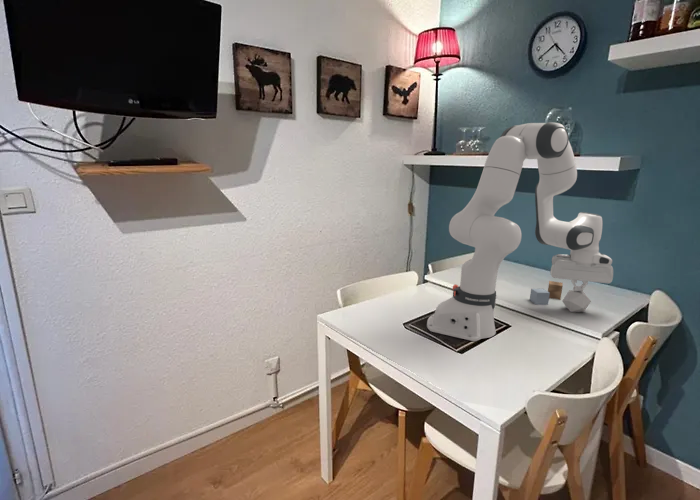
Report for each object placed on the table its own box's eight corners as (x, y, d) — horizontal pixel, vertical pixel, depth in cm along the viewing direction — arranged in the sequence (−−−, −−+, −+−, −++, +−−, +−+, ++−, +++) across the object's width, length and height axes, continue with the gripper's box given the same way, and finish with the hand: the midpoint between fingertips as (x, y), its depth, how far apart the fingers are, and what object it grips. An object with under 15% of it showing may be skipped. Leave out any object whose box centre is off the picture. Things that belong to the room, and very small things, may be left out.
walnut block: (547, 297, 163) (548, 284, 162) (547, 294, 168) (549, 280, 166) (560, 299, 161) (562, 286, 160) (560, 296, 166) (562, 282, 164)
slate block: (535, 304, 156) (537, 292, 154) (529, 300, 160) (531, 288, 159) (548, 304, 156) (549, 292, 155) (541, 300, 161) (543, 288, 160)
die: (587, 318, 144) (599, 296, 145) (566, 305, 145) (578, 283, 146) (574, 317, 152) (585, 296, 154) (554, 305, 153) (566, 284, 154)
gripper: (554, 255, 145) (549, 290, 148) (617, 260, 139) (611, 297, 142) (551, 251, 151) (546, 285, 154) (612, 256, 145) (605, 291, 148)
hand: (577, 291), depth 148 cm, fingers closed
